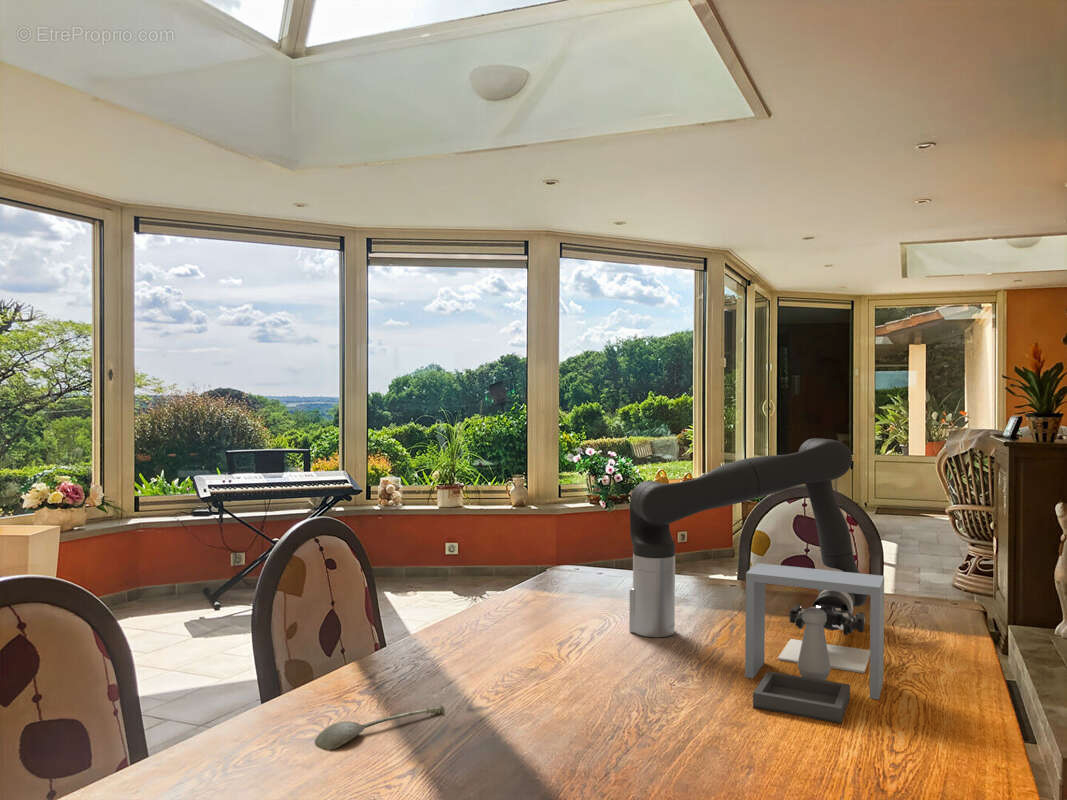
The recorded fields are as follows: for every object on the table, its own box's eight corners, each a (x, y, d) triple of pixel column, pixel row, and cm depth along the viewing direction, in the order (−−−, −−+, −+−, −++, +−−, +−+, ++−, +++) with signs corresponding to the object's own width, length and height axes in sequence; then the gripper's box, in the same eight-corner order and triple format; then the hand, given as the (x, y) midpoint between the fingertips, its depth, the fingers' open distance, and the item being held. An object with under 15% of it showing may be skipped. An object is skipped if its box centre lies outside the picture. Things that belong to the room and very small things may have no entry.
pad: (777, 659, 160) (777, 657, 160) (790, 640, 172) (790, 638, 172) (864, 673, 152) (864, 671, 152) (871, 652, 165) (871, 650, 165)
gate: (745, 677, 150) (745, 573, 150) (756, 661, 159) (757, 563, 159) (878, 699, 139) (879, 587, 139) (883, 681, 148) (884, 575, 148)
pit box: (752, 707, 136) (753, 692, 135) (767, 684, 146) (767, 671, 146) (841, 723, 129) (841, 708, 129) (849, 698, 140) (849, 684, 140)
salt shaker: (832, 686, 146) (833, 614, 146) (799, 683, 147) (800, 612, 147) (827, 675, 151) (828, 606, 151) (795, 672, 153) (796, 604, 152)
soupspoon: (307, 745, 123) (323, 763, 117) (306, 724, 122) (322, 741, 117) (434, 707, 136) (453, 722, 130) (433, 688, 135) (453, 702, 130)
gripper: (798, 586, 176) (785, 603, 162) (869, 594, 169) (861, 612, 155) (798, 620, 176) (784, 640, 162) (868, 629, 170) (861, 651, 155)
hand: (822, 626), depth 158 cm, fingers open, 8 cm apart
